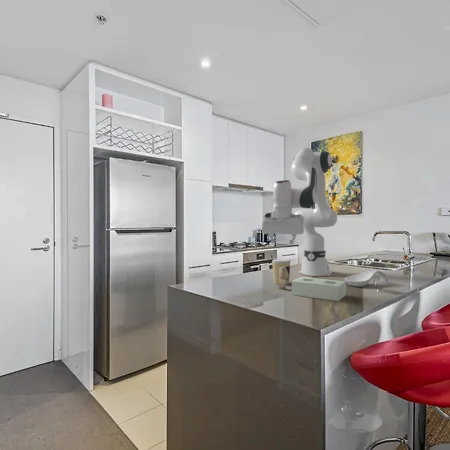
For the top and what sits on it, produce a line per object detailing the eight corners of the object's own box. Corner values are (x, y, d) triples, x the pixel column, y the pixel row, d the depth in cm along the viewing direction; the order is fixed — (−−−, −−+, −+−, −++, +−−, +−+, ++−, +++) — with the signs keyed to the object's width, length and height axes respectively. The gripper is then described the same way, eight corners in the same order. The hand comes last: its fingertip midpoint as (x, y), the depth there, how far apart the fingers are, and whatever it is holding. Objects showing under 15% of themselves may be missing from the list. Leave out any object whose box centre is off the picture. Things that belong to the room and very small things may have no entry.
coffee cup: (290, 285, 157) (290, 261, 156) (271, 284, 159) (271, 261, 158) (290, 281, 166) (290, 259, 166) (272, 281, 168) (272, 258, 167)
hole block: (301, 289, 148) (301, 276, 148) (345, 295, 136) (345, 281, 136) (291, 294, 138) (291, 281, 138) (338, 301, 126) (338, 286, 126)
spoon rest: (356, 289, 148) (356, 274, 148) (339, 284, 159) (339, 270, 159) (394, 285, 156) (394, 271, 156) (375, 281, 167) (375, 267, 167)
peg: (280, 287, 151) (280, 267, 151) (286, 288, 149) (286, 267, 149) (278, 289, 149) (278, 268, 148) (284, 289, 147) (284, 268, 147)
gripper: (306, 214, 145) (305, 244, 145) (266, 214, 156) (266, 242, 157) (301, 214, 140) (301, 244, 140) (260, 214, 151) (260, 243, 151)
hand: (282, 243), depth 148 cm, fingers open, 8 cm apart
